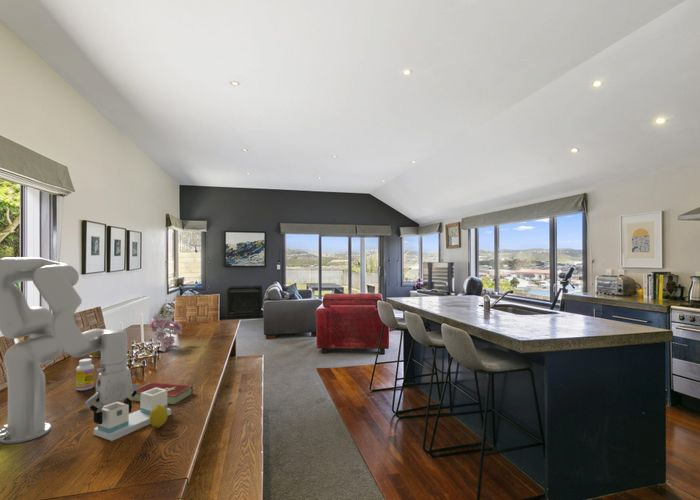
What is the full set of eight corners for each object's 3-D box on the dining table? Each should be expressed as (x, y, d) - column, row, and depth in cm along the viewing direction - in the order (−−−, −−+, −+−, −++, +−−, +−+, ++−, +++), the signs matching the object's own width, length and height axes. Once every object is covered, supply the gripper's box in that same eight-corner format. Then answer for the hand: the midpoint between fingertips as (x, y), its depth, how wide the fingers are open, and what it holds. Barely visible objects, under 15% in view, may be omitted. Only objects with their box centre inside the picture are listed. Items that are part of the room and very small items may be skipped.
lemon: (163, 422, 131) (163, 400, 131) (170, 427, 128) (170, 404, 128) (146, 428, 127) (147, 405, 127) (153, 433, 123) (153, 409, 123)
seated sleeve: (151, 415, 133) (151, 395, 133) (140, 411, 135) (140, 392, 136) (167, 408, 138) (167, 390, 139) (155, 405, 141) (156, 387, 141)
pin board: (111, 441, 118) (112, 419, 118) (93, 434, 122) (93, 413, 123) (171, 414, 138) (171, 395, 138) (153, 409, 142) (153, 391, 142)
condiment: (87, 356, 215) (87, 336, 215) (101, 352, 223) (101, 333, 223) (96, 357, 212) (96, 337, 213) (110, 353, 220) (110, 334, 220)
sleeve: (97, 429, 122) (97, 408, 122) (116, 421, 128) (117, 401, 128) (109, 433, 119) (110, 412, 119) (128, 425, 125) (129, 404, 125)
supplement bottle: (84, 391, 160) (84, 362, 160) (71, 390, 161) (72, 361, 161) (97, 386, 167) (97, 358, 167) (85, 385, 168) (85, 357, 168)
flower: (194, 346, 233) (188, 309, 241) (161, 350, 214) (155, 310, 222) (176, 355, 242) (170, 320, 250) (142, 360, 223) (137, 321, 231)
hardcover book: (150, 390, 162) (150, 381, 163) (192, 394, 159) (192, 384, 159) (129, 401, 151) (129, 391, 151) (174, 405, 147) (175, 395, 147)
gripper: (93, 376, 114) (92, 430, 114) (145, 361, 130) (144, 409, 130) (79, 372, 117) (79, 425, 117) (131, 359, 133) (131, 405, 133)
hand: (113, 417), depth 123 cm, fingers open, 9 cm apart
